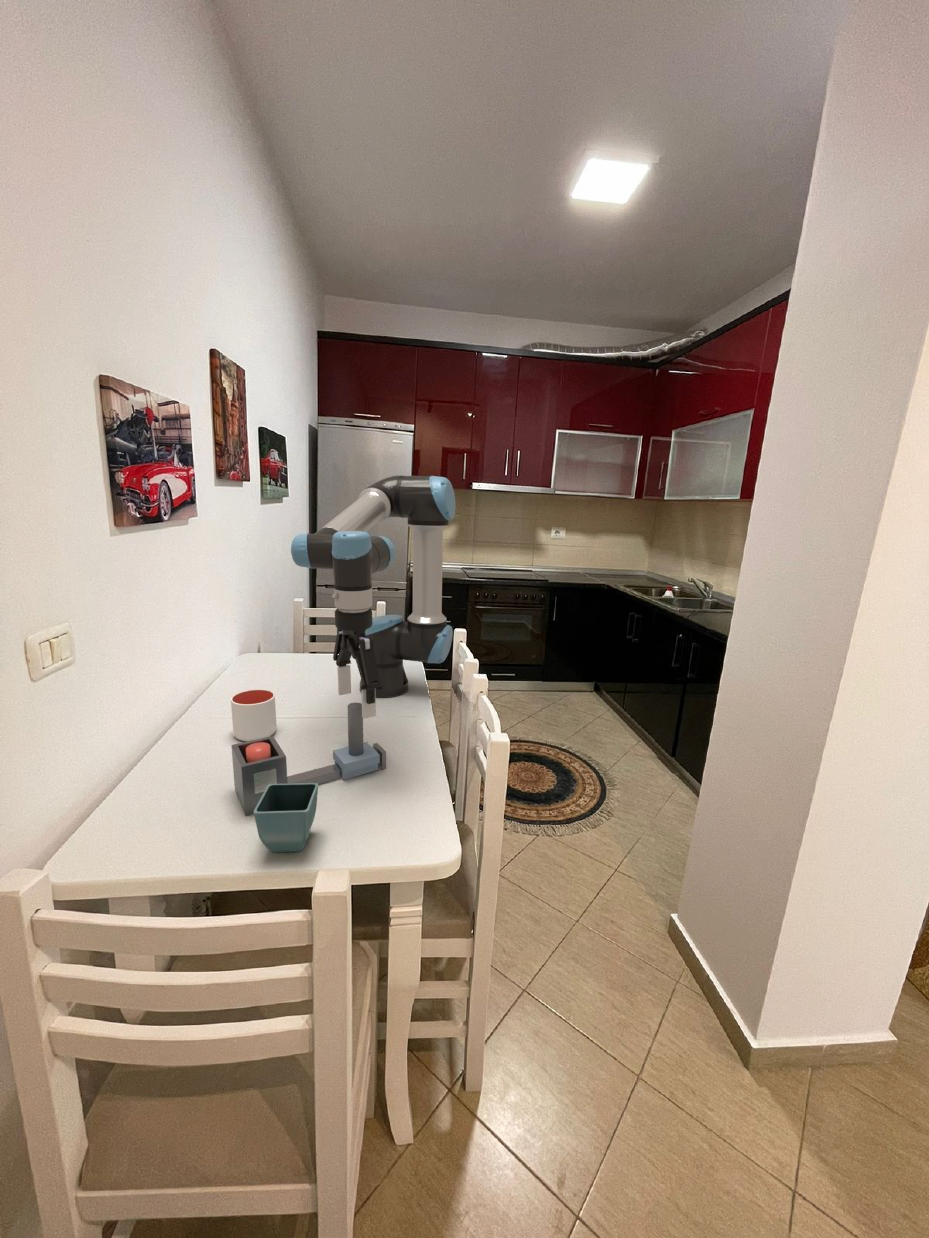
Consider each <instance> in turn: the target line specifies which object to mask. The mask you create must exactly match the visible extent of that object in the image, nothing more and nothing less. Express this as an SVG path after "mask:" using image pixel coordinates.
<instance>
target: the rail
mask: <svg viewBox="0 0 929 1238" xmlns="http://www.w3.org/2000/svg"><path fill="white" fill-rule="evenodd" d="M372 748H373V749H374V750H375V751H376V752H377V753H378V754H379V755H380V763H379V764H378V768H380V769H381V770H385V769H387V751H386V750H385V749H384V748H383V747H382V746H381V745H380V744H379V743H378V742H374V743H372ZM341 779H342V769H341V768H340V767H339V765H338V764H330V765H327V766H326V765H325V766H322V767H318V768H315V769H310V770H307V771H303V772H299V773H296V774H292V775H287V782H288V784H294V783H318V786H319V785H322V784H326V783H329V782H334V781H336V780H341Z"/></svg>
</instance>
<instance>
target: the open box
mask: <svg viewBox="0 0 929 1238" xmlns="http://www.w3.org/2000/svg"><path fill="white" fill-rule="evenodd" d="M259 742H264V743H268V744H269V745H270V753H271V758H267V759H262V760H258V761H254V762H250V763H247V760H246V748H247V747H248V746H249V745H251V744H254V743H259ZM230 746H231V758H232V759H231V760H232V769H233V770H232V771H233V772H232V773H233V783H234V791H235V794H236V796H237V799H238V802H239V804H240V806H241V809H242V812H243V813H244V816H249V815H252V814H254V813H253V812H254V809H255V807H256V806H257V804H258V802H259V800H260V799H261V797H262V795H263V793H264V791H265V789H266V787H267V786H268V785H269V784H288V782H287V776H288V766H287V765H288V764H287V755H286V754H285V752H284V751H283V749H282V747H281V746H280V744H279V742H278V741H277V740H276V738H275V736H274V735H271V736H270V737H266V738H261V739H256V740H252V741H243V742H239V743H233V744H231V745H230Z"/></svg>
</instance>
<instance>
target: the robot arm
mask: <svg viewBox="0 0 929 1238" xmlns="http://www.w3.org/2000/svg"><path fill="white" fill-rule="evenodd" d="M456 505H457V504H456V495H455V490H454V488H453V485H452V483H451V481H450V480H449V479H448V478H447V477H444V476H435V475H398V474H397V475H392V476H388V477H385V478H383V479H381V480H378V481H376V482H374V483H372V484H370V485H369V486H367V487H366V488H364V489H363V490H362V491H360V493H359V495H358V497H357V500H355V501H353V503H351V504H350V505H349V506H347V507H346V508H345V509H344V510H343V511H341V512H340V513H338V515H337V516H336V515H335V517H334V518H333V519H331V520H330V521H329V522H328V523H326V524H325V525H323V526H322V527H321V528H320V529H318V531H316V532H315V533H309V532H308V533H307V532H306V533H299V534H297V535H295V537H293V540H292V541H291V545H290V554H291V557H292V561H293V562H294V563H295V565H297V566H298V567H299V568H300V567H302V568H308V569H319V570H332V572H333V573H332V574H333V593H334V594H332V595H331V598H332V599H333V600H334V607H335V608H336V609H335V610H334V625H335V628H336V638H335V643H334V648H333V649H334V650H333V657H332V658H333V659H332V660H333V661H334V662H335V664H336V666H337V667H336V668H337V691H338V692H337V693H338V694H337V695H339V696H344V695H348V694H349V695H350V694H352V678H351V677H352V672H351V665H352V661H351V658H352V659H354V660H355V663H356V666H357V669H358V673H359V676H360V680H359V691H360V693H361V704H362V718H363V720H365V719H368V718H373V717H376V716H377V706H376V705H377V704H376V703H377V702H376V699H377V698H382V699H383V698H392V697H398V696H401V695H403V694H405V693H407V691H408V690H409V680H408V676H407V673H406V671H405V667H404V661H410V662H411V661H412V662H418V663H427V664H441V663H444V661H445V660H446V658H447V657H448V655H449V652H450V651H451V650H450V649H451V646H452V642H453V634H454V633H453V632H454V631H453V627H452V625H450V624H447V622H448V620H447V616H445V615H444V614H443V611H442V610H443V609H442V608H443V607H442V604H443V552H444V551H443V549H444V546H443V544H444V531H445V530H446V529H448V527H449V521H451V520H453V519H454V518H455V515H456V507H457V506H456ZM387 518H388V519H389V518H402V519H403V518H405V519H407V526H408V527H409V528H410V529H411V530H412V612H411V614H409V616H408V617H407V619H406V620H407V621H404V620H405V618H404V616H403V615H400V614H384V615H379V616H374V617H373V609H371V608H372V607H373V587H372V586H373V585H372V579H373V578H372V575H373V574H375V573H377V572H382V571H385V570H386V569H388V567H390V566H391V565H392V564H393V563H394V561H395V559H396V547H395V545H394V544H393V542H392V540H390V539H389V538H388V537H386V536H383V535H382V536H381V535H371V536H370V534H369V533H368V531H369V530H370V529H371V528H372V527H373V526H375V524H377V523H380V522H383V521H385V520H386V519H387Z"/></svg>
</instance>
